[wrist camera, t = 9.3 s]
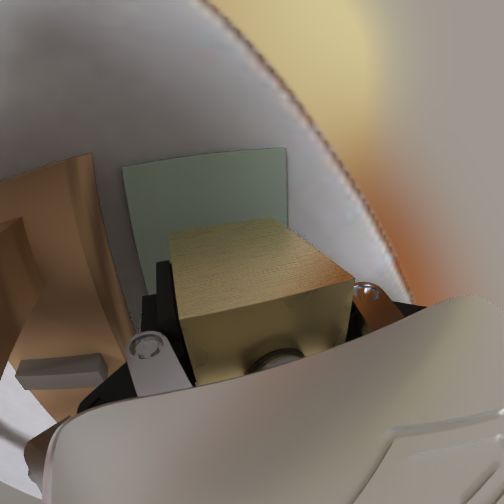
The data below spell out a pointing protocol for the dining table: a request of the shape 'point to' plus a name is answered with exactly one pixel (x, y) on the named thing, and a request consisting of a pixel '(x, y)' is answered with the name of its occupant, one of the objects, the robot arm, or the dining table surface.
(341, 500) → the robot arm
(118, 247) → the dining table surface
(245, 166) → the felt pad
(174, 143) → the dining table surface
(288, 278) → the lever cap
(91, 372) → the plane body
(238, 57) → the dining table surface
